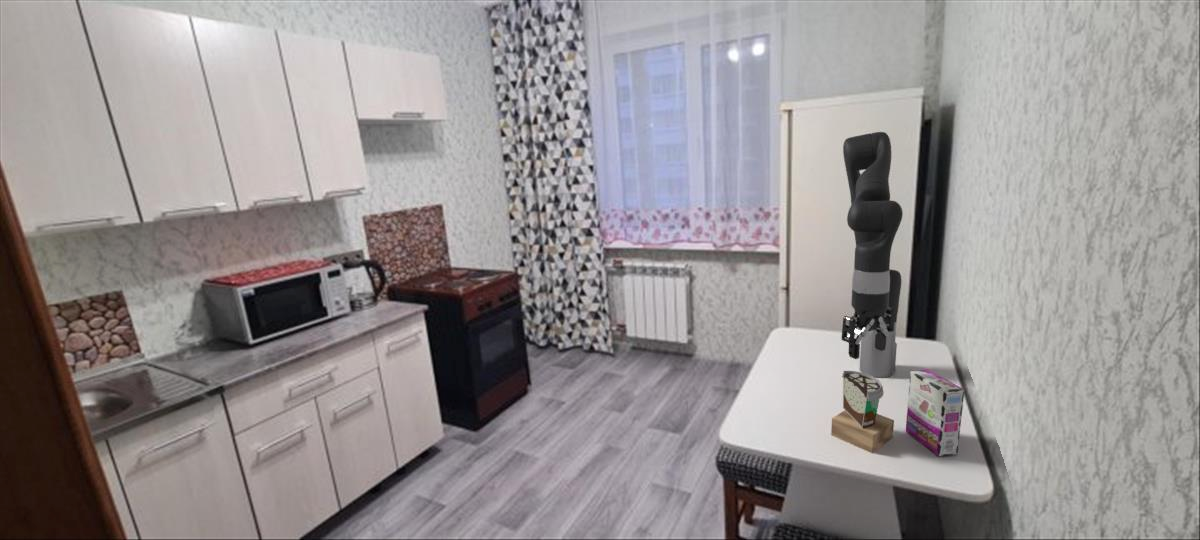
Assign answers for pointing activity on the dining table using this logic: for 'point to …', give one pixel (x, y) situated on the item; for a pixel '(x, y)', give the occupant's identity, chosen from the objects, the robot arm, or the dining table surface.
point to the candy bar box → (934, 412)
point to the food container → (861, 397)
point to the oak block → (862, 431)
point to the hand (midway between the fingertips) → (867, 353)
